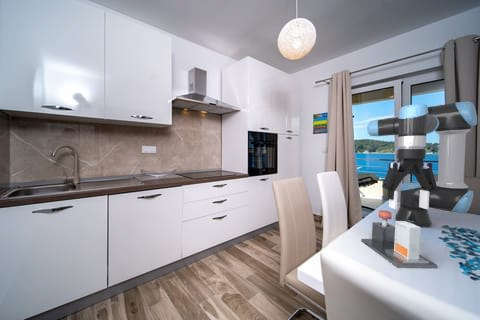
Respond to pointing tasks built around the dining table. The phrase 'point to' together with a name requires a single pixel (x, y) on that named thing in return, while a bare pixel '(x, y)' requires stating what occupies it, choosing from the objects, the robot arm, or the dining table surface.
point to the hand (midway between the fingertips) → (408, 208)
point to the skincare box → (407, 240)
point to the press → (392, 248)
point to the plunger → (384, 216)
